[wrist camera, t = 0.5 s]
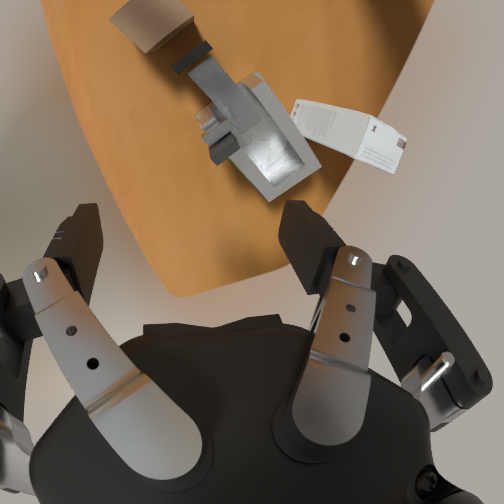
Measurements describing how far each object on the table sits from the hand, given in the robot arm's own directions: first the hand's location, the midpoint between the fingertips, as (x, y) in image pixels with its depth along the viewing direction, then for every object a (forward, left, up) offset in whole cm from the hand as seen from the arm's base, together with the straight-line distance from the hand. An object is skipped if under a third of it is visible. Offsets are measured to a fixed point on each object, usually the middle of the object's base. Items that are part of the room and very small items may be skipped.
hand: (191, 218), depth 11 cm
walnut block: (-4, -10, -21) cm, 23 cm away
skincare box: (-10, +10, -21) cm, 25 cm away
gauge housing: (-4, +6, -21) cm, 22 cm away
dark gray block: (-1, +3, -14) cm, 15 cm away
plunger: (-3, 0, -19) cm, 19 cm away
